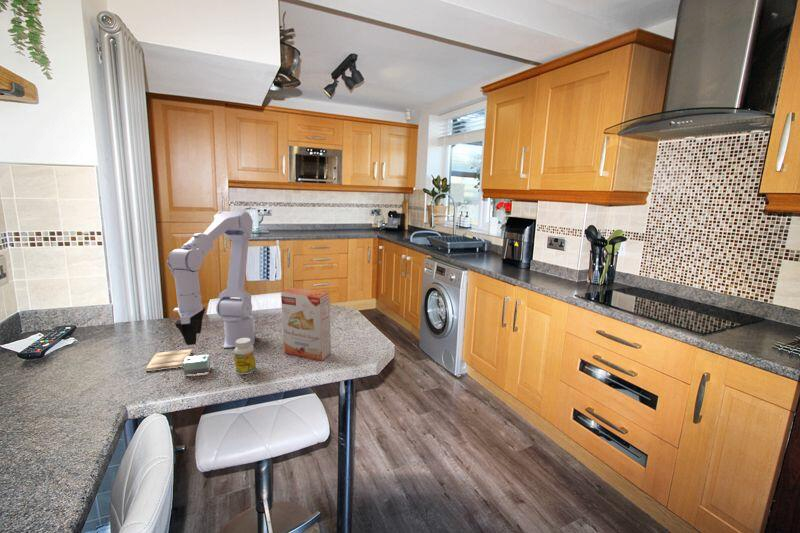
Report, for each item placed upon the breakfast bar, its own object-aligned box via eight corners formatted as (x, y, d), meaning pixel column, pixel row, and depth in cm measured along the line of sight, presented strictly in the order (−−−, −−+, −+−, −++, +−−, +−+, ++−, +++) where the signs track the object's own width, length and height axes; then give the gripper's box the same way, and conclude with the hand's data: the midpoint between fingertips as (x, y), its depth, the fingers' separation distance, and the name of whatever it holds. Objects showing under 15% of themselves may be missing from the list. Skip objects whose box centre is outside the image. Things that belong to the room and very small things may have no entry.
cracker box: (283, 354, 121) (279, 291, 116) (294, 346, 126) (291, 286, 121) (321, 362, 116) (319, 297, 111) (331, 353, 122) (330, 291, 117)
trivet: (192, 352, 121) (191, 348, 120) (185, 367, 111) (185, 363, 111) (156, 356, 118) (155, 352, 117) (146, 372, 108) (145, 368, 108)
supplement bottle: (256, 365, 113) (254, 335, 111) (254, 374, 108) (251, 343, 106) (237, 367, 112) (234, 337, 110) (234, 376, 107) (231, 345, 105)
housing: (210, 367, 112) (209, 353, 111) (208, 374, 108) (206, 360, 107) (188, 370, 110) (186, 356, 109) (184, 377, 106) (183, 363, 105)
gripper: (178, 286, 109) (183, 330, 112) (164, 302, 95) (171, 351, 99) (205, 284, 111) (210, 327, 114) (195, 299, 98) (201, 348, 101)
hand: (194, 338), depth 107 cm, fingers open, 7 cm apart
